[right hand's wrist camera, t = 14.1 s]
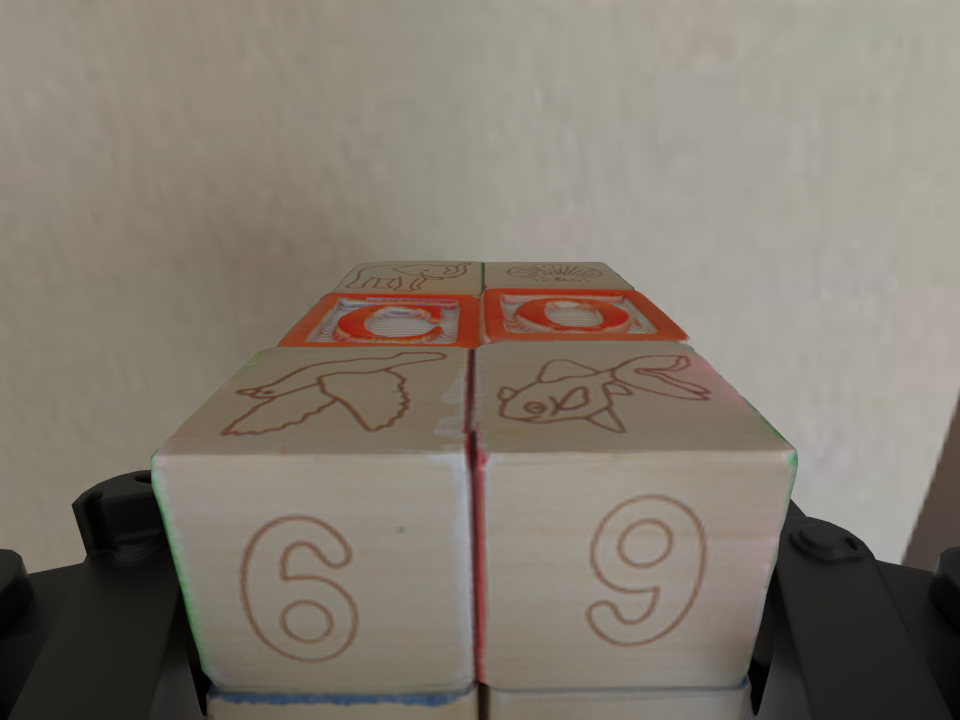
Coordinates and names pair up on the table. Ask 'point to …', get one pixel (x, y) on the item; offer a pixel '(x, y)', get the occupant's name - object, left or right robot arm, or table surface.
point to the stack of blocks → (476, 507)
